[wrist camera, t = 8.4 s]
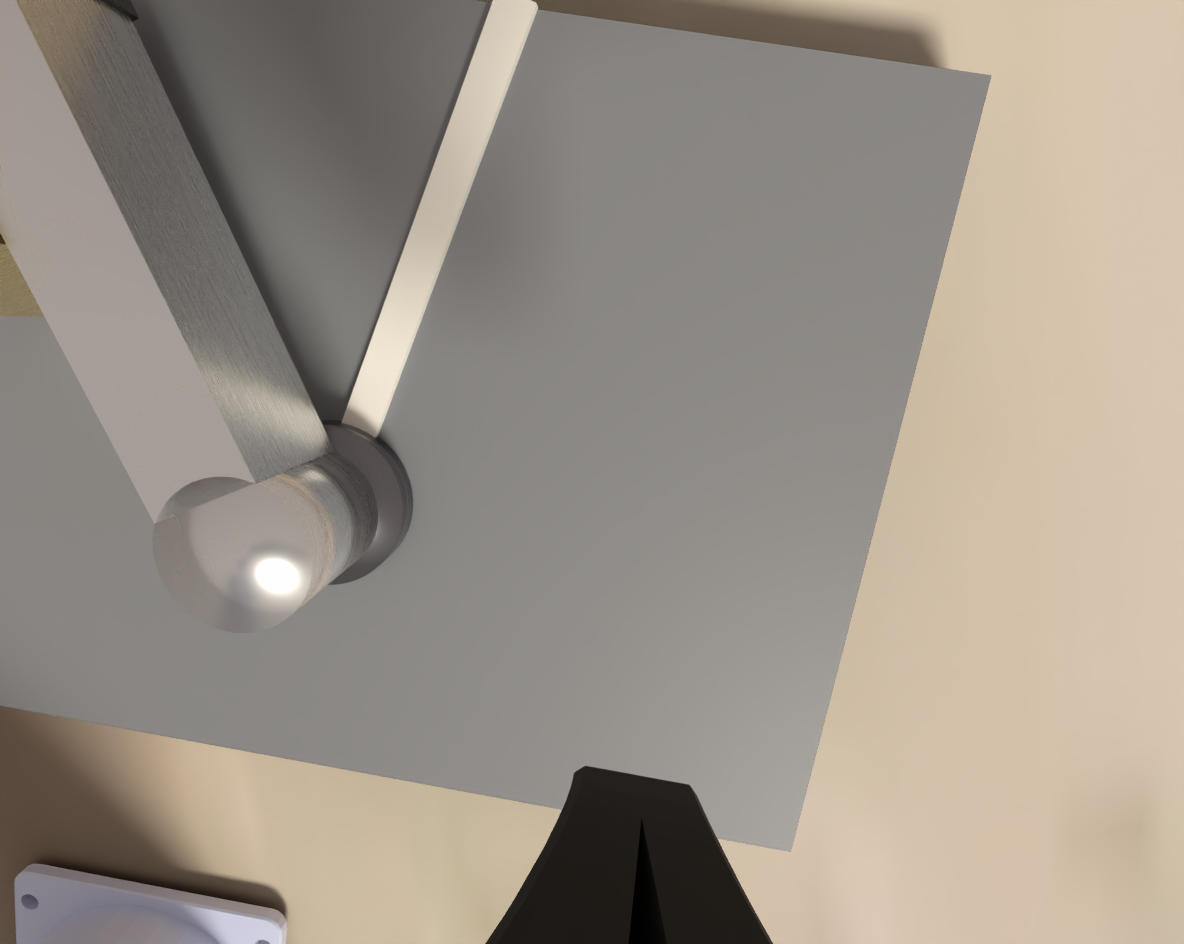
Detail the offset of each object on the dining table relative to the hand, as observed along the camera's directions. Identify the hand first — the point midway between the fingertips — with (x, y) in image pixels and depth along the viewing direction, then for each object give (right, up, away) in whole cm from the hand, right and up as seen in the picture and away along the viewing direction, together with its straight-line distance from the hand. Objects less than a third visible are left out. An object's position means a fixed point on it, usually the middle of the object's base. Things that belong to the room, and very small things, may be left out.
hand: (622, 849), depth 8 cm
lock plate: (-5, +6, +9) cm, 11 cm away
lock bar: (-8, +8, +6) cm, 13 cm away
